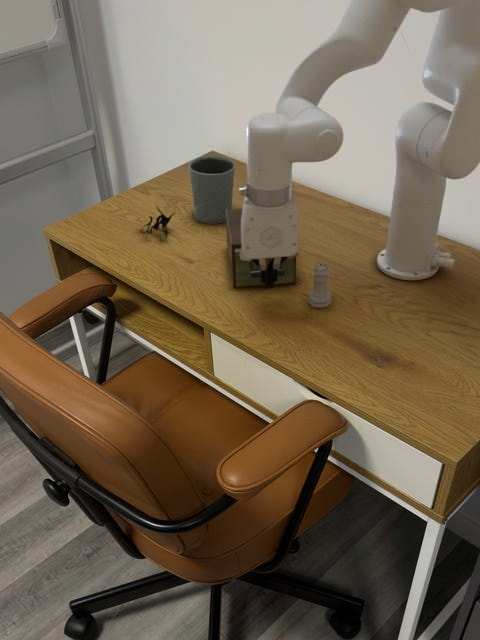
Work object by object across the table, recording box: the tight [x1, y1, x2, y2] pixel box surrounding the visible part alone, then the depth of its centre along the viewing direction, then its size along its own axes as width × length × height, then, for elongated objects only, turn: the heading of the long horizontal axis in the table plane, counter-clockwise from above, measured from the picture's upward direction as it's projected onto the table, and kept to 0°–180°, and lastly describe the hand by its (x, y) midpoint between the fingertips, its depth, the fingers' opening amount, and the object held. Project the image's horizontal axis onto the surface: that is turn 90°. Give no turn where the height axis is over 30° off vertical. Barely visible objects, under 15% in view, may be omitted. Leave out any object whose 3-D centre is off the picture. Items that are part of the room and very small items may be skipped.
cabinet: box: [225, 207, 297, 288], centre depth 143 cm, size 15×13×10 cm
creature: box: [140, 204, 176, 242], centre depth 156 cm, size 8×5×8 cm
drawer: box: [235, 247, 294, 288], centre depth 140 cm, size 18×11×8 cm, turn 5°
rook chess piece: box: [307, 262, 332, 309], centre depth 133 cm, size 4×4×8 cm
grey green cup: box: [188, 155, 236, 225], centre depth 160 cm, size 10×10×12 cm
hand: (268, 284), depth 133 cm, fingers closed
